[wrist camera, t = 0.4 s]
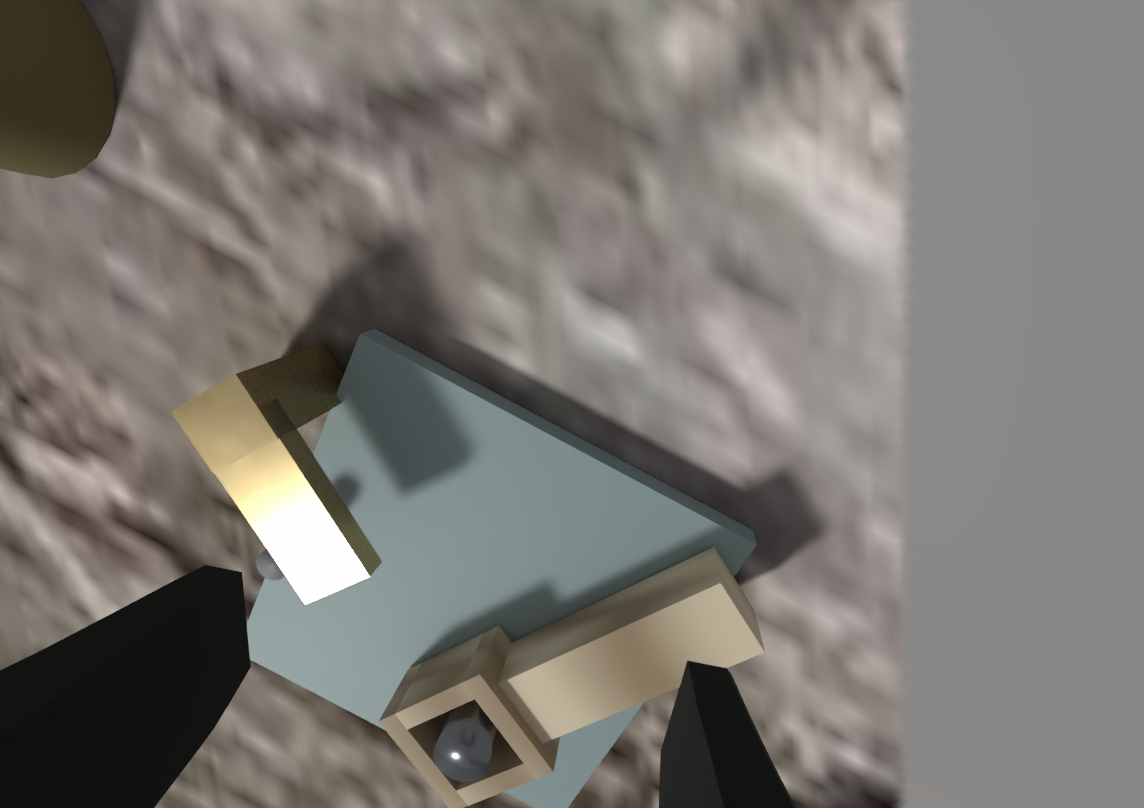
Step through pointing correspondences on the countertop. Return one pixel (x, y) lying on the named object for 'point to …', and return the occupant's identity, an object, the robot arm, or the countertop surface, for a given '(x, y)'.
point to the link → (572, 672)
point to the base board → (470, 540)
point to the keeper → (282, 468)
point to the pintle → (465, 743)
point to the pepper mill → (52, 88)
